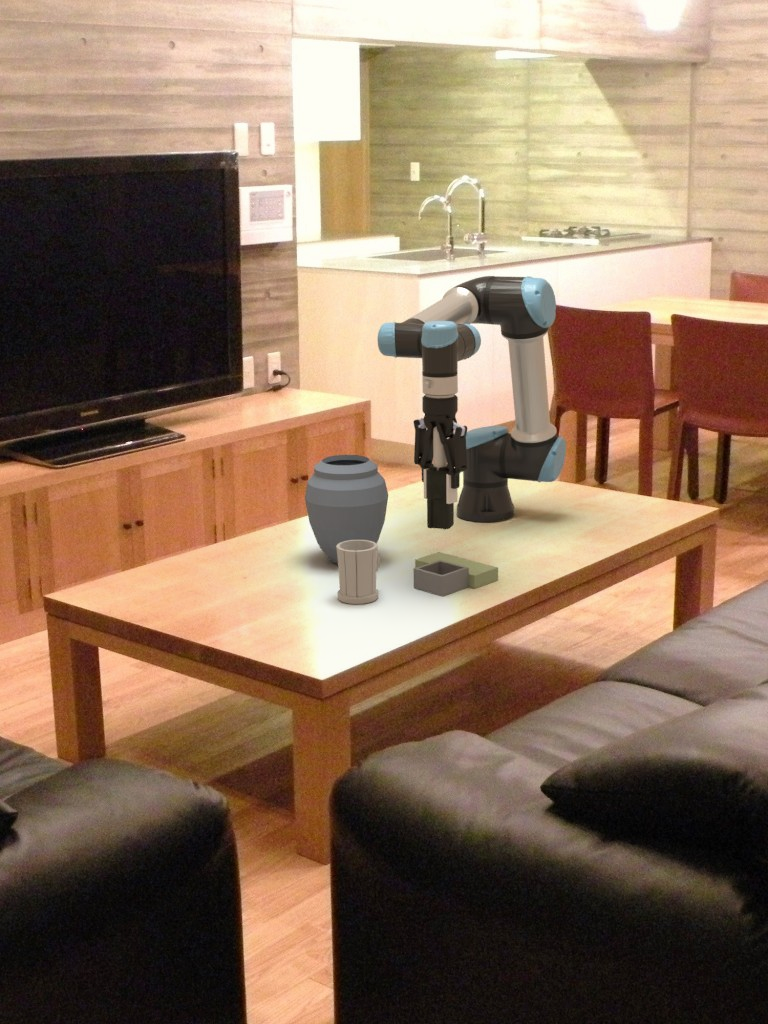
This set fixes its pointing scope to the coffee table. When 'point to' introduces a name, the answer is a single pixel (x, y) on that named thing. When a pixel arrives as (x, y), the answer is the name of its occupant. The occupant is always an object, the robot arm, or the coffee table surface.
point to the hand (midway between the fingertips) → (440, 499)
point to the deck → (451, 574)
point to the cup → (357, 571)
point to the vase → (345, 501)
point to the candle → (438, 489)
